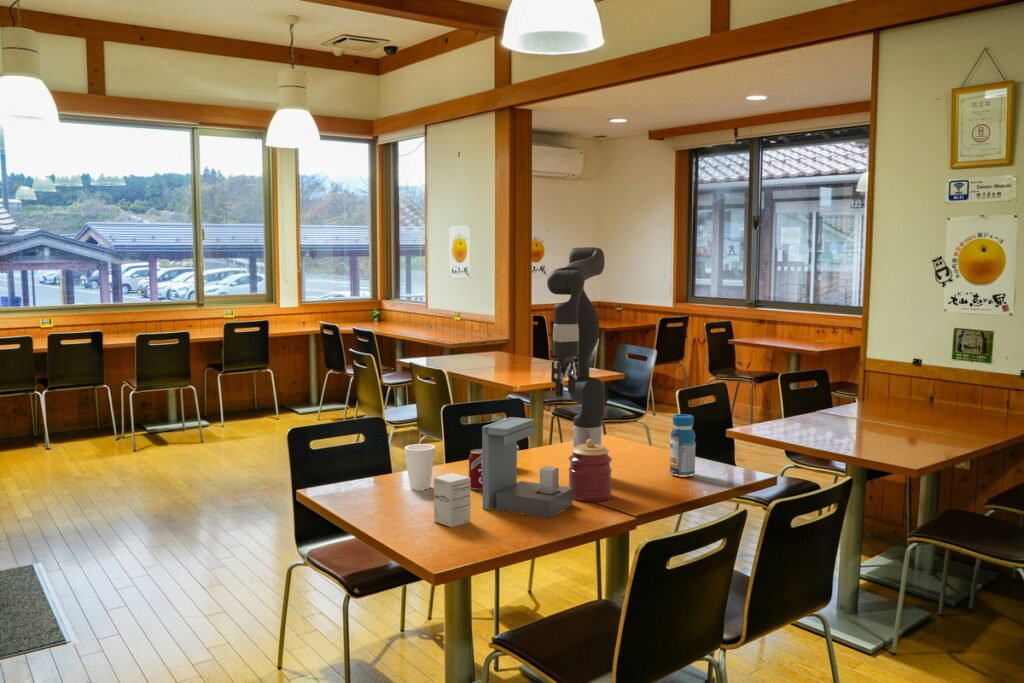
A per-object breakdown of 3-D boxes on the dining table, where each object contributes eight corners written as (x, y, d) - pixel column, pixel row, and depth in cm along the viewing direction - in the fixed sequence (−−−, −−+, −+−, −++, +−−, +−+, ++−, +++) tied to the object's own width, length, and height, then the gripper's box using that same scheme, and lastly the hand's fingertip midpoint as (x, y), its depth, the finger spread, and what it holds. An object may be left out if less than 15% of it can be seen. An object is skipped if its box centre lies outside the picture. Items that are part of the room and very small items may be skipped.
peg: (546, 506, 243) (546, 466, 242) (558, 508, 241) (558, 467, 240) (539, 510, 239) (539, 468, 238) (552, 512, 237) (552, 470, 236)
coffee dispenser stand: (511, 494, 255) (510, 416, 253) (534, 498, 252) (534, 419, 249) (482, 508, 241) (482, 426, 238) (507, 512, 237) (506, 429, 235)
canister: (618, 494, 256) (618, 437, 254) (600, 504, 244) (601, 445, 243) (579, 488, 262) (580, 433, 260) (560, 498, 251) (561, 440, 249)
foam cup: (433, 491, 259) (433, 450, 258) (403, 491, 259) (403, 450, 258) (436, 483, 268) (435, 443, 267) (407, 483, 268) (406, 444, 267)
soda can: (464, 489, 261) (464, 452, 260) (475, 484, 267) (475, 447, 266) (483, 492, 258) (483, 454, 257) (494, 487, 264) (494, 449, 263)
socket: (521, 497, 253) (521, 480, 252) (572, 504, 245) (572, 487, 244) (496, 509, 240) (496, 492, 239) (549, 518, 231) (549, 500, 231)
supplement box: (433, 522, 228) (432, 476, 227) (454, 516, 234) (453, 472, 232) (450, 528, 223) (450, 481, 222) (471, 522, 228) (471, 476, 227)
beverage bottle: (690, 479, 273) (691, 418, 271) (665, 476, 277) (666, 416, 275) (698, 474, 280) (699, 414, 278) (674, 470, 284) (675, 412, 282)
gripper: (564, 336, 251) (564, 390, 252) (543, 340, 238) (543, 397, 240) (587, 337, 247) (587, 392, 249) (567, 341, 235) (567, 399, 236)
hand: (565, 394), depth 244 cm, fingers open, 8 cm apart
